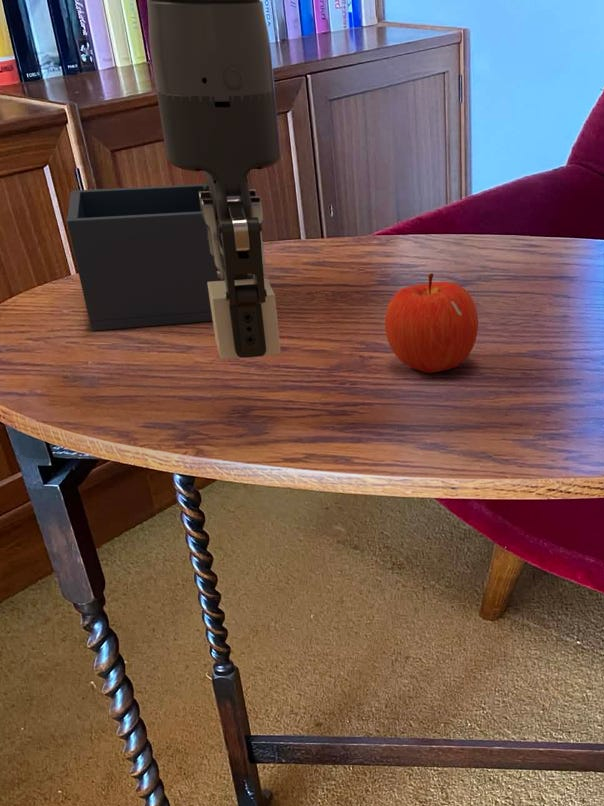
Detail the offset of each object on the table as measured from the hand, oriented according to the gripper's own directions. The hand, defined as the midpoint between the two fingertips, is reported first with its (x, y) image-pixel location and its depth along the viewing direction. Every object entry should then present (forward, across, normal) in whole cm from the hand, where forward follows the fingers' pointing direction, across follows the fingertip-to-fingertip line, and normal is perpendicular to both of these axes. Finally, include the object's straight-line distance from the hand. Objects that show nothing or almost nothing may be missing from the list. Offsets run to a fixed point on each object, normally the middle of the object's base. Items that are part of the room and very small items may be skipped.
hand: (247, 343), depth 72 cm
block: (0, 0, 0) cm, 0 cm away
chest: (+6, -32, -6) cm, 33 cm away
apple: (+6, -7, +16) cm, 19 cm away
